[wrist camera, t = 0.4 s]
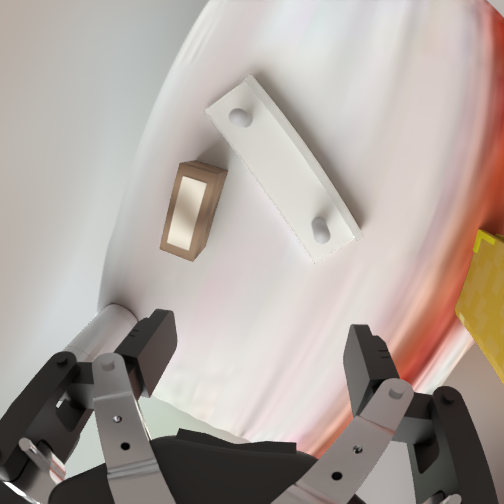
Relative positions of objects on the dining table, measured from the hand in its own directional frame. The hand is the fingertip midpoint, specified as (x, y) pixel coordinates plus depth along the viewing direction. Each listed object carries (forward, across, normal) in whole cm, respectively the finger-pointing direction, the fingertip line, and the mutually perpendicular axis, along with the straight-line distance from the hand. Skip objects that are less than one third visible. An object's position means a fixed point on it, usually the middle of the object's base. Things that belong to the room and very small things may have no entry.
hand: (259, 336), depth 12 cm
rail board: (+29, -1, -6) cm, 29 cm away
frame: (+29, +11, 0) cm, 31 cm away
